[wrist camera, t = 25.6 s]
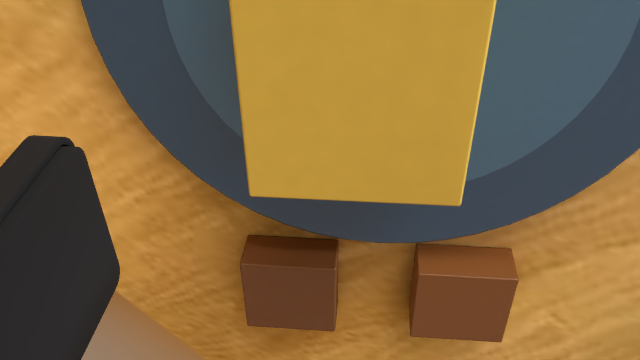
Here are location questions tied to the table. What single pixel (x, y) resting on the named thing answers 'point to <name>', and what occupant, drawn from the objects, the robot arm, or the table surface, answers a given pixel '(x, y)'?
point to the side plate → (490, 127)
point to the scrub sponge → (360, 96)
